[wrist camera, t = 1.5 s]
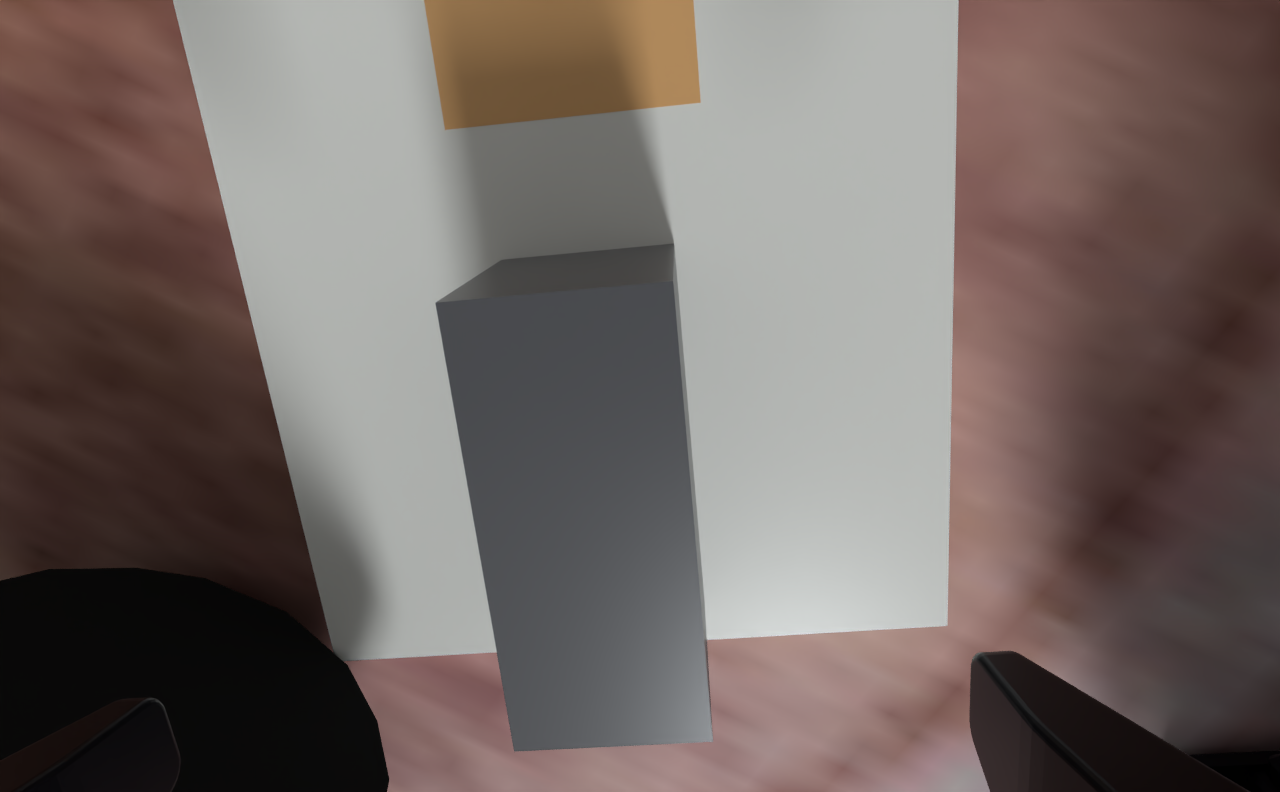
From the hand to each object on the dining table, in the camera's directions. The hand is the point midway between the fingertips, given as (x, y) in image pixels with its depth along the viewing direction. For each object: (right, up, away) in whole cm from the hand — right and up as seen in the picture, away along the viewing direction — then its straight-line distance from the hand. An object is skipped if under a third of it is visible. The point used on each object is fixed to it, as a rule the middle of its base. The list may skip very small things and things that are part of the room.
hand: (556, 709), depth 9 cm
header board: (0, +9, +7) cm, 11 cm away
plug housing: (0, +3, +8) cm, 8 cm away
